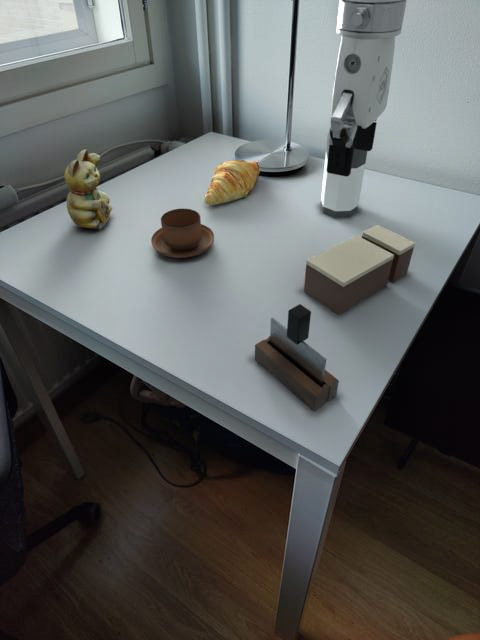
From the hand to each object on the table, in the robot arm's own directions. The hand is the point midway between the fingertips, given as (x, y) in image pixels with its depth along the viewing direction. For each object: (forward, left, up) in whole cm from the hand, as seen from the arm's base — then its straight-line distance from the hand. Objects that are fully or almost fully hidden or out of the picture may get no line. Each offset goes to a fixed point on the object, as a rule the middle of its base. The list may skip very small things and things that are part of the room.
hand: (350, 161), depth 65 cm
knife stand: (-11, +20, -22) cm, 31 cm away
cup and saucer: (+27, +13, -22) cm, 37 cm away
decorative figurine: (+47, +23, -22) cm, 57 cm away
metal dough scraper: (-11, +20, -22) cm, 31 cm away
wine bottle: (+18, -21, -22) cm, 35 cm away
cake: (-2, -1, -22) cm, 22 cm away
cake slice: (-2, -10, -22) cm, 24 cm away
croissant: (+40, -9, -22) cm, 46 cm away
